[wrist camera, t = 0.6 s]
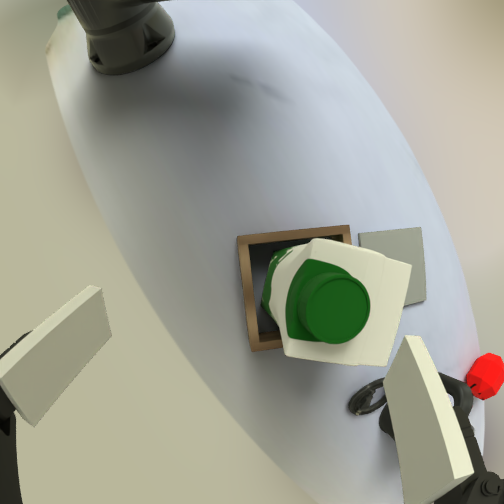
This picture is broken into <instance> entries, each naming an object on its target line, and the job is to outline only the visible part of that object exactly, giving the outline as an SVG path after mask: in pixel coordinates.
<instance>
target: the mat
mask: <svg viewBox="0 0 504 504" xmlns="http://www.w3.org/2000/svg"><path fill="white" fill-rule="evenodd" d="M358 239H359V247H362V248H366V249H369V250H373V251H376V252H378V253H381V254H383V255H384V256H385V257H386V258H390V259H393V260H397V261H400V262H404V263H407V264H410V265H412V268H411V274H410V279H409V284H408V289H407V293H406V298H405V302H404V306H406V305H409V304H413V303H417V302H421V301H424V300H426V276H425V261H424V249H423V240H422V231H421V227H416V228H406V229H396V230H387V231H377V232H367V233H359V234H358Z"/></svg>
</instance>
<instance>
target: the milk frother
mask: <svg viewBox="0 0 504 504" xmlns="http://www.w3.org/2000/svg"><path fill="white" fill-rule="evenodd" d="M438 374H439V376H440V379H441V381H442V383H443V386H444V388H445V390H446V393H448V394H450V395H452V396H453V398H454V406H460V407H461V409H462V410H463V411H464V412H465V413H466V415H467V416H469V413H470V411H471V409H472V405H473V394H472V391H471V388H470V387H469V386H468V385H467V384H466V383H464V382H462V381H459V380H457V379H454V378H452V377H450V376H447V375H445V374H442V373H439V372H438ZM384 379H385V377H384V378H381V379H378V380H375V381H373V382H371V383H369V384H368V385H366V386H364V387H363V388H362V389H360V390H359V391H358V392H357V393H356V394H355V395H354V396H353V397H352V398H351V400H350V402H349V410H350V411H351V412H352V413H354V414H356V415H357V416H358V415H363V414H368V413H371V412H373V411H375V410H376V409H378V408H380V407H381V406H382V405H384V404H385V403H386V402H387V398H386V395H385V396H384V397H383V398H382V399H381V400H379V401H378V402H377V403H375V404H373V405H371V406H369V405H370V402H371V400H372V398H373V394H374V393H375V389H377V388H380V387H383V381H384ZM379 424H380V428H381V429H382V430H383V431H384V432H385V433H388V434H389V435H390V436H391V437H392V438H393V439H394V440H395V436H394V431H393V426H392V421H391V416H390V411H389V407H388V403H387V405H386V406H385V408H384V409H383V411H382V413H381V416H380V422H379ZM471 428H472V429H473V432H474V428H473V426H472V425H471Z"/></svg>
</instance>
